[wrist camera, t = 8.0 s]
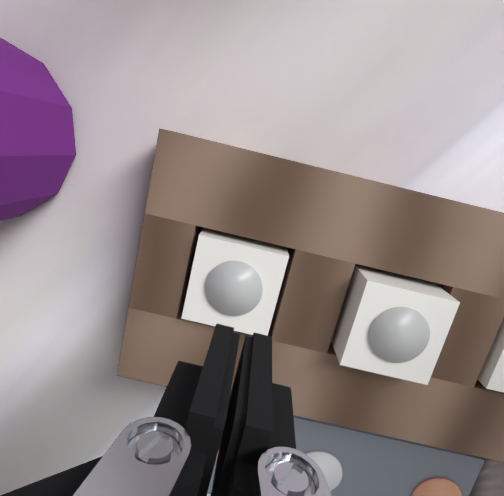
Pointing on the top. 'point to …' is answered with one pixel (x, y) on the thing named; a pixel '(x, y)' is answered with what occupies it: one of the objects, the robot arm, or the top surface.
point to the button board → (323, 286)
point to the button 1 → (234, 282)
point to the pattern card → (382, 463)
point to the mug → (31, 133)
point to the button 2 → (494, 364)
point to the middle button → (393, 324)
